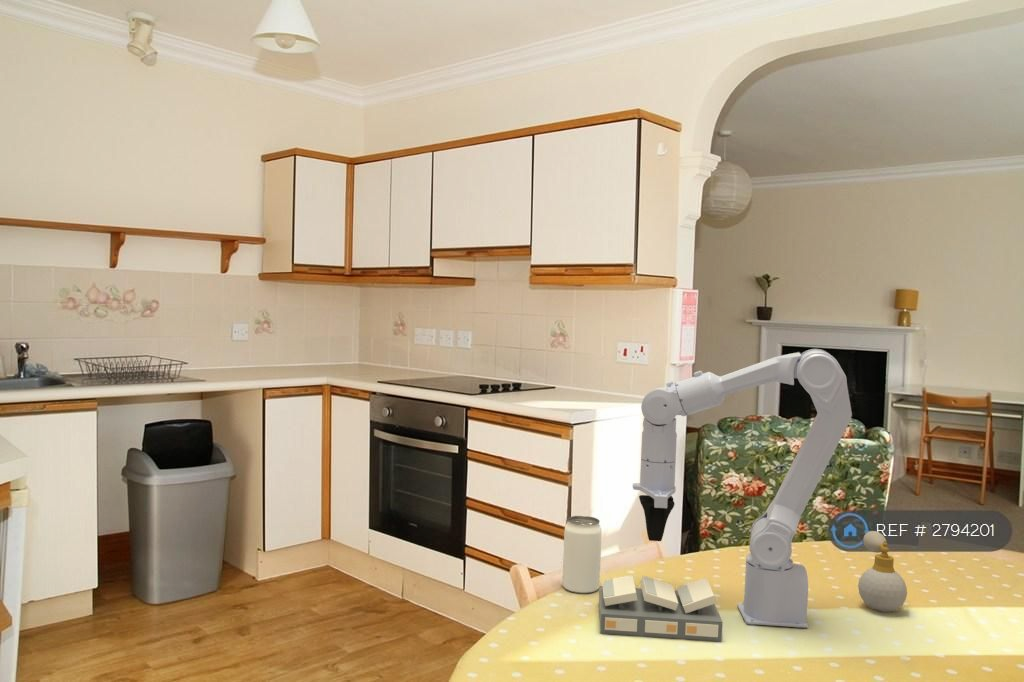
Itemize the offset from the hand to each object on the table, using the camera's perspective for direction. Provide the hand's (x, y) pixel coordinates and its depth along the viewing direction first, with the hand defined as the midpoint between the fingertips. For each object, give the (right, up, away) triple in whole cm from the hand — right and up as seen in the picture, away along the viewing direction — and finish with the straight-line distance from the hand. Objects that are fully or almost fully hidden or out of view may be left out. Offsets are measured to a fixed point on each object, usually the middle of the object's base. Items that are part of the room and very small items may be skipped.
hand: (654, 539), depth 136 cm
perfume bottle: (+38, -12, +1) cm, 40 cm away
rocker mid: (-1, -6, -9) cm, 11 cm away
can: (-12, -10, +6) cm, 17 cm away
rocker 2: (+5, -7, -9) cm, 12 cm away
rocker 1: (-7, -6, -8) cm, 12 cm away
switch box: (-1, -11, -8) cm, 14 cm away
